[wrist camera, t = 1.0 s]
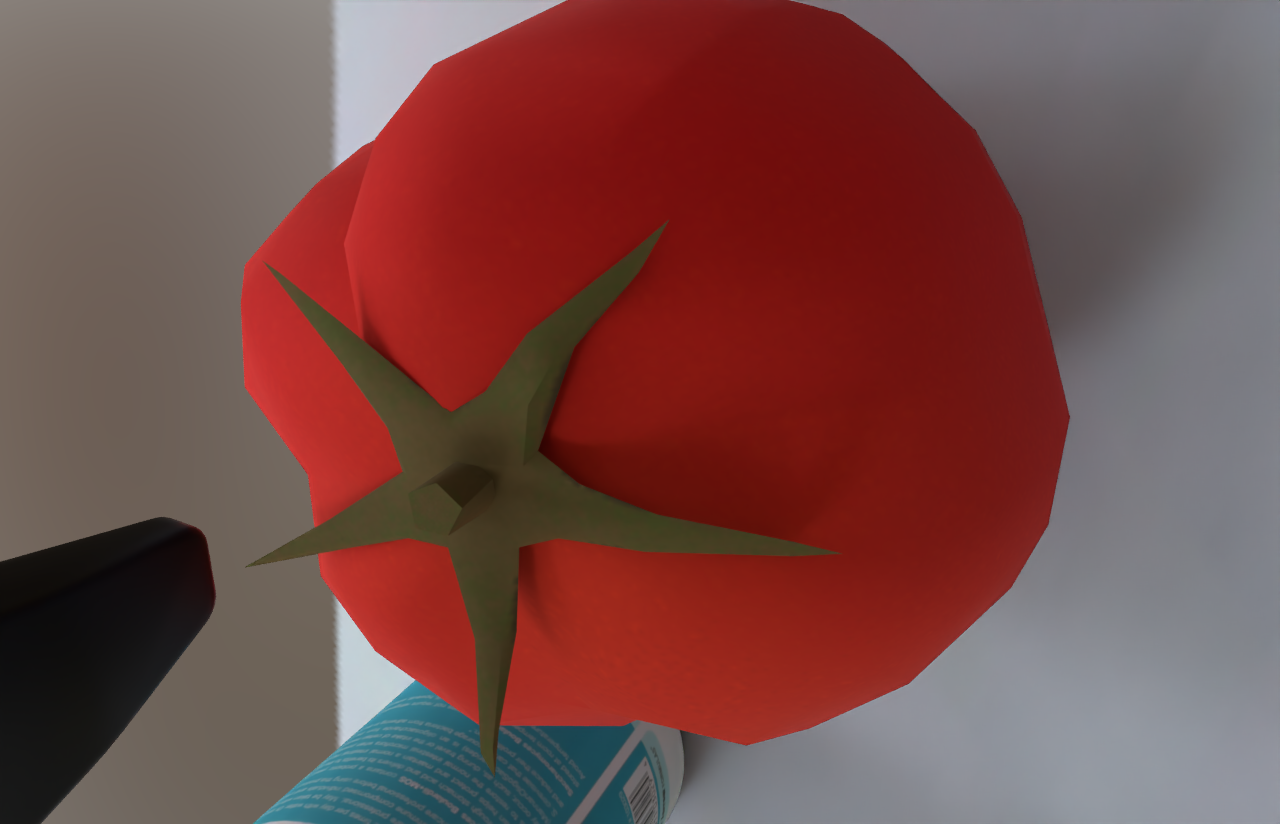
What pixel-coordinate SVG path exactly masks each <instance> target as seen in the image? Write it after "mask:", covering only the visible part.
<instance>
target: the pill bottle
mask: <svg viewBox="0 0 1280 824" xmlns="http://www.w3.org/2000/svg"><path fill="white" fill-rule="evenodd" d="M683 775H684V751H683V743H682V738H681V734H680V730H678V729H674V728H670V727H665V726H661V725H657V724H653V723H648V722H644V721H640V720H636V721H633V722H631V723H629V724H627V725H624V726H503V725H500V727H499V734H498V746H497V758H496V770H495V777H494V775H493V774H492V772H491V770H490V768H489V767H488V765H487V763H486V762H485V760H484V758H483V756H482V755H481V750H480V730H479V725H478V724H477V723H475V722H474V721H472V720H471V719H470V718H468V717H467V716H465V715H464V714H463V713H461V712H460V711H458V710H457V709H456V708H454V707H453V706H451V705H450V704H448V703H447V702H446V701H444V700H443V699H441V698H440V697H439V696H437V695H436V694H435V693H433V692H432V691H430V690H429V689H428V688H426V687H425V686H423V685H422V684H421V683H419V682H418V681H416V680H415V681H414V682H413V683H412V684H411V685H410V686H409V687H407V688H406V689H405V690H404V691H403V692H402V693H401V694H400V695H398V696H397V697H396V698H395V699H394V700H393V701H392V702H391V703H389V704H388V705H387V706H386V707H385V708H384V709H383V710H382V711H380V712H379V713H378V714H377V715H376V716H375V717H374V718H372V719H371V720H370V721H369V722H368V723H367V724H366V725H364V726H363V727H362V728H361V729H360V730H359V731H358V732H356V733H355V734H354V735H353V736H352V737H351V738H350V739H348V740H347V741H346V742H345V743H344V744H343V745H342V746H341V747H340V748H338V749H337V750H336V751H335V752H334V753H333V754H332V755H331V756H330V757H328V758H327V759H326V760H325V761H324V762H322V763H321V764H320V765H319V766H318V767H317V768H316V769H315V770H313V771H312V772H311V773H310V774H309V775H307V776H306V777H305V778H304V779H303V780H302V781H301V782H299V783H298V784H297V785H296V786H295V787H294V788H293V789H292V790H290V791H289V792H288V793H287V794H286V795H285V796H284V797H282V798H281V799H280V800H279V801H278V802H277V803H276V804H275V805H273V806H272V807H271V808H270V809H269V810H268V811H267V812H265V813H264V814H263V815H262V816H261V817H260V818H259V819H258V820H256V821H255V822H254V823H253V824H665V823H666V821H667V820H668V818H669V816H670V815H671V813H672V811H673V809H674V807H675V805H676V802H677V800H678V797H679V794H680V790H681V786H682V780H683Z"/></svg>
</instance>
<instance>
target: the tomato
mask: <svg viewBox="0 0 1280 824" xmlns="http://www.w3.org/2000/svg"><path fill="white" fill-rule="evenodd" d="M241 315H242V335H243V355H244V356H243V358H244V377H245V388H246V389H247V391H248V392H249V394H250V395H251V396H252V398H253V399H254V400H255V402H256V403H257V405H258V406H259V408H260V409H261V410H262V412H263V413H264V414H265V416H266V417H267V419H268V420H269V421H270V423H271V424H272V426H273V427H274V428H275V430H276V431H277V433H278V434H279V435H280V437H281V438H282V439H283V441H284V442H285V444H286V445H287V446H288V448H289V449H290V451H291V452H292V453H293V455H294V456H295V457H296V459H297V460H298V462H299V463H300V464H301V466H302V467H303V469H304V470H305V471H306V473H307V474H308V479H309V487H310V495H311V502H312V510H313V518H314V526H315V528H313V529H312V530H310V531H308V532H307V533H305V534H303V535H301V536H299V537H297V538H296V539H294V540H292V541H290V542H289V543H287V544H285V545H283V546H282V547H280V548H278V549H276V550H274V551H273V552H271V553H269V554H267V555H266V556H264V557H262V558H261V559H259V560H257V561H255V562H254V563H251V564H250V565H248V566H246V567H250V566H255V565H260V564H266V563H271V562H277V561H282V560H287V559H293V558H298V557H303V556H308V555H314V554H318V557H319V566H320V573H321V577H322V578H323V580H324V581H325V583H326V584H327V585H328V586H329V588H330V589H331V591H332V592H333V594H334V595H335V596H336V598H337V599H338V600H339V602H340V603H341V604H342V606H343V607H344V609H345V610H346V611H347V613H348V614H349V615H350V617H351V618H352V620H353V621H354V622H355V624H356V625H357V626H358V628H359V629H360V631H361V632H362V633H363V635H364V636H365V637H366V639H367V640H368V642H369V643H370V644H371V646H372V647H373V648H374V650H375V651H376V652H378V653H379V654H380V655H382V656H383V657H384V658H386V659H387V660H389V661H390V662H391V663H393V664H394V665H396V666H397V667H398V668H400V669H401V670H403V671H404V672H405V673H407V674H408V675H410V676H411V677H412V678H414V679H415V680H416V681H418V682H419V683H421V684H422V685H423V686H425V687H426V688H428V689H429V690H430V691H432V692H433V693H435V694H436V695H437V696H439V697H440V698H441V699H443V700H444V701H446V702H447V703H448V704H450V705H451V706H453V707H454V708H456V709H457V710H458V711H460V712H461V713H463V714H464V715H465V716H467V717H468V718H470V719H471V720H472V721H474V722H475V723H477V724H478V725H479V730H480V750H481V755H482V756H483V758H484V760H485V762H486V763H487V765H488V767H489V768H490V770H491V772H492V774H493V775H494V777H495V770H496V758H497V746H498V734H499V727H500V725H503V726H624V725H627V724H629V723H631V722H633V721H636V720H640V721H644V722H648V723H653V724H657V725H661V726H665V727H670V728H674V729H678V730H683V731H687V732H691V733H695V734H700V735H704V736H708V737H712V738H717V739H721V740H725V741H729V742H734V743H738V744H742V745H750V744H754V743H757V742H761V741H765V740H768V739H772V738H776V737H780V736H783V735H787V734H791V733H794V732H798V731H802V730H805V729H809V728H812V727H814V726H816V725H818V724H820V723H823V722H825V721H827V720H829V719H832V718H834V717H836V716H838V715H840V714H843V713H845V712H847V711H849V710H851V709H854V708H856V707H858V706H860V705H863V704H865V703H867V702H869V701H871V700H874V699H876V698H878V697H880V696H883V695H885V694H887V693H889V692H891V691H894V690H896V689H898V688H900V687H903V686H905V685H907V684H909V683H910V682H911V681H912V680H913V679H914V678H915V677H916V676H917V675H918V674H920V673H921V672H922V671H923V670H924V669H925V668H926V667H927V666H928V665H929V664H930V663H931V662H932V661H933V660H934V659H936V658H937V657H938V656H939V655H940V654H941V653H942V652H943V651H944V650H945V649H946V648H947V647H948V646H949V645H951V644H952V643H953V642H954V641H955V640H956V639H957V638H958V637H959V636H960V635H961V634H962V633H963V632H964V631H965V630H967V629H968V628H969V627H970V626H971V625H972V624H973V623H974V622H975V621H976V620H977V619H978V618H979V617H980V616H982V615H983V614H984V613H985V612H986V611H987V610H988V609H989V608H990V607H991V606H992V605H993V604H994V603H995V602H996V601H998V600H999V599H1000V598H1001V597H1002V596H1003V595H1004V594H1005V593H1006V592H1007V591H1008V590H1009V589H1010V588H1011V587H1012V586H1013V584H1014V582H1015V580H1016V579H1017V577H1018V575H1019V574H1020V572H1021V570H1022V569H1023V567H1024V565H1025V563H1026V562H1027V560H1028V558H1029V557H1030V555H1031V553H1032V552H1033V550H1034V548H1035V546H1036V545H1037V543H1038V541H1039V540H1040V538H1041V536H1042V535H1043V533H1044V531H1045V529H1046V528H1047V526H1048V524H1049V519H1050V514H1051V509H1052V504H1053V499H1054V494H1055V489H1056V484H1057V479H1058V474H1059V469H1060V464H1061V459H1062V454H1063V449H1064V444H1065V439H1066V434H1067V429H1068V424H1069V419H1070V415H1069V411H1068V407H1067V403H1066V399H1065V394H1064V390H1063V386H1062V382H1061V378H1060V374H1059V369H1058V365H1057V361H1056V357H1055V353H1054V349H1053V345H1052V340H1051V336H1050V332H1049V328H1048V324H1047V320H1046V316H1045V311H1044V307H1043V303H1042V299H1041V295H1040V291H1039V286H1038V282H1037V278H1036V274H1035V270H1034V266H1033V262H1032V257H1031V253H1030V249H1029V245H1028V241H1027V237H1026V233H1025V228H1024V224H1023V220H1022V217H1021V215H1020V213H1019V211H1018V209H1017V208H1016V206H1015V204H1014V202H1013V200H1012V198H1011V196H1010V194H1009V192H1008V191H1007V189H1006V187H1005V185H1004V183H1003V181H1002V179H1001V177H1000V176H999V174H998V172H997V170H996V168H995V166H994V164H993V162H992V160H991V159H990V157H989V155H988V153H987V151H986V149H985V147H984V145H983V143H982V142H981V140H980V138H979V136H978V134H977V132H976V130H975V129H974V128H972V127H971V126H970V125H969V124H968V123H967V122H966V121H965V120H964V119H963V118H962V117H961V116H960V115H959V114H958V113H957V112H956V111H955V110H954V109H953V108H952V107H951V106H950V105H948V104H947V103H946V102H945V101H944V100H943V99H942V98H941V97H940V96H939V95H938V94H937V93H936V92H935V91H934V90H933V89H932V88H931V87H930V86H929V85H928V84H927V83H926V82H925V81H924V80H923V79H922V78H921V77H920V76H919V75H918V74H917V73H916V72H915V71H914V70H913V68H912V67H911V66H910V65H909V64H908V63H907V62H906V61H905V60H904V59H903V58H901V57H900V56H899V55H898V54H897V53H896V52H894V51H893V50H892V49H891V48H890V47H888V46H887V45H886V44H885V43H884V42H882V41H881V40H879V39H878V38H876V37H875V36H873V35H872V34H871V33H869V32H868V31H866V30H865V29H863V28H862V27H860V26H859V25H857V24H856V23H854V22H853V21H851V20H850V19H849V18H847V17H846V16H844V15H843V14H839V13H836V12H832V11H828V10H825V9H821V8H817V7H814V6H810V5H806V4H803V3H799V2H794V1H790V0H567V1H565V2H563V3H560V4H558V5H556V6H554V7H552V8H550V9H548V10H546V11H544V12H542V13H540V14H538V15H536V16H533V17H531V18H529V19H527V20H525V21H523V22H521V23H519V24H517V25H515V26H513V27H511V28H509V29H506V30H504V31H502V32H500V33H498V34H496V35H494V36H492V37H490V38H488V39H486V40H484V41H482V42H479V43H477V44H475V45H473V46H471V47H469V48H467V49H465V50H463V51H461V52H459V53H457V54H455V55H452V56H450V57H448V58H446V59H444V60H442V61H440V62H438V63H436V64H434V65H433V66H432V67H431V69H430V70H429V71H428V72H427V74H426V75H425V76H424V78H423V79H422V80H421V81H420V83H419V84H418V85H417V86H416V88H415V89H414V90H413V92H412V93H411V94H410V95H409V97H408V98H407V99H406V100H405V102H404V103H403V104H402V106H401V107H400V108H399V109H398V111H397V112H396V113H395V114H394V116H393V117H392V118H391V119H390V121H389V122H388V123H387V125H386V126H385V127H384V128H383V130H382V131H381V132H380V133H379V135H378V136H377V137H376V139H375V140H374V141H372V142H370V143H368V144H366V145H364V146H362V147H361V148H360V149H359V150H357V151H356V152H355V153H354V154H352V155H351V156H350V157H349V158H348V159H346V160H345V161H344V162H343V163H341V164H340V165H339V166H338V167H336V168H335V169H334V170H333V171H332V172H330V173H329V174H328V175H327V176H325V177H324V178H323V179H322V180H320V181H319V182H318V183H317V184H316V185H315V186H314V187H313V188H312V189H311V190H310V191H309V193H307V195H306V196H305V197H304V198H303V199H302V200H301V201H300V202H299V203H298V204H297V205H296V207H295V208H294V209H293V210H292V211H291V212H290V213H289V214H288V215H287V217H286V218H285V219H284V220H283V221H282V222H281V224H280V225H279V226H278V227H277V228H276V229H275V231H274V232H273V233H272V234H271V235H270V236H269V238H268V239H267V240H266V241H265V242H264V243H263V245H262V246H261V247H260V248H259V249H258V250H257V252H256V253H255V254H254V255H253V256H252V258H251V259H250V260H249V261H248V262H247V263H246V265H245V269H244V279H243V288H242V298H241Z"/></svg>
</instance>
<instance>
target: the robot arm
mask: <svg viewBox="0 0 1280 824" xmlns="http://www.w3.org/2000/svg"><path fill="white" fill-rule="evenodd" d="M215 600H216V590H215V585H214V580H213V573H212V567H211V561H210V555H209V549H208V544H207V540H206V537H205V535H204V534H203V533H202V531H201V530H199V529H198V528H196V527H194V526H191V525H188V524H185V523H182V522H180V521H177V520H174V519H171V518H166V517H159V518H154V519H150V520H146V521H143V522H139V523H136V524H132V525H129V526H125V527H122V528H118V529H115V530H111V531H108V532H104V533H100V534H97V535H94V536H90V537H86V538H83V539H79V540H76V541H73V542H69V543H65V544H62V545H58V546H55V547H51V548H48V549H44V550H41V551H37V552H33V553H30V554H27V555H23V556H19V557H16V558H12V559H9V560H5V561H2V562H0V824H41V823H42V822H43V821H44V820H45V819H46V818H47V816H48V815H49V814H50V813H51V812H52V811H53V810H54V809H55V808H56V807H57V806H58V805H59V803H60V802H61V801H62V800H63V799H64V798H65V797H66V796H67V795H68V794H69V793H70V791H71V790H72V789H73V788H74V787H75V786H76V785H77V784H78V783H79V782H80V781H81V780H82V778H83V777H84V776H85V775H86V774H87V773H88V772H89V771H90V770H91V769H92V767H93V766H94V765H95V764H96V763H97V762H98V761H99V759H100V758H101V757H102V756H103V755H104V754H105V753H106V752H107V750H108V749H109V748H110V746H111V745H112V744H113V743H114V742H115V740H116V739H117V738H118V737H119V735H120V734H121V733H122V732H123V730H124V729H125V728H126V727H127V725H128V724H129V723H130V721H131V720H132V719H133V717H134V716H135V715H136V713H137V712H138V711H139V710H140V708H141V707H142V706H143V704H144V703H145V702H146V700H147V699H148V698H149V697H150V695H151V694H152V693H153V691H154V690H155V688H157V686H158V685H159V683H160V682H161V681H162V680H163V678H164V677H165V676H166V674H167V673H168V672H169V670H170V669H171V668H172V666H173V665H174V664H175V663H176V661H177V660H178V659H179V657H180V656H181V655H182V653H183V652H184V651H185V650H186V648H187V647H188V646H189V644H190V643H191V642H192V641H193V639H194V638H195V637H196V635H197V634H198V633H199V631H200V630H201V629H202V627H203V626H204V625H205V624H206V622H207V621H208V619H209V617H210V615H211V613H212V611H213V608H214V605H215Z"/></svg>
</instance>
